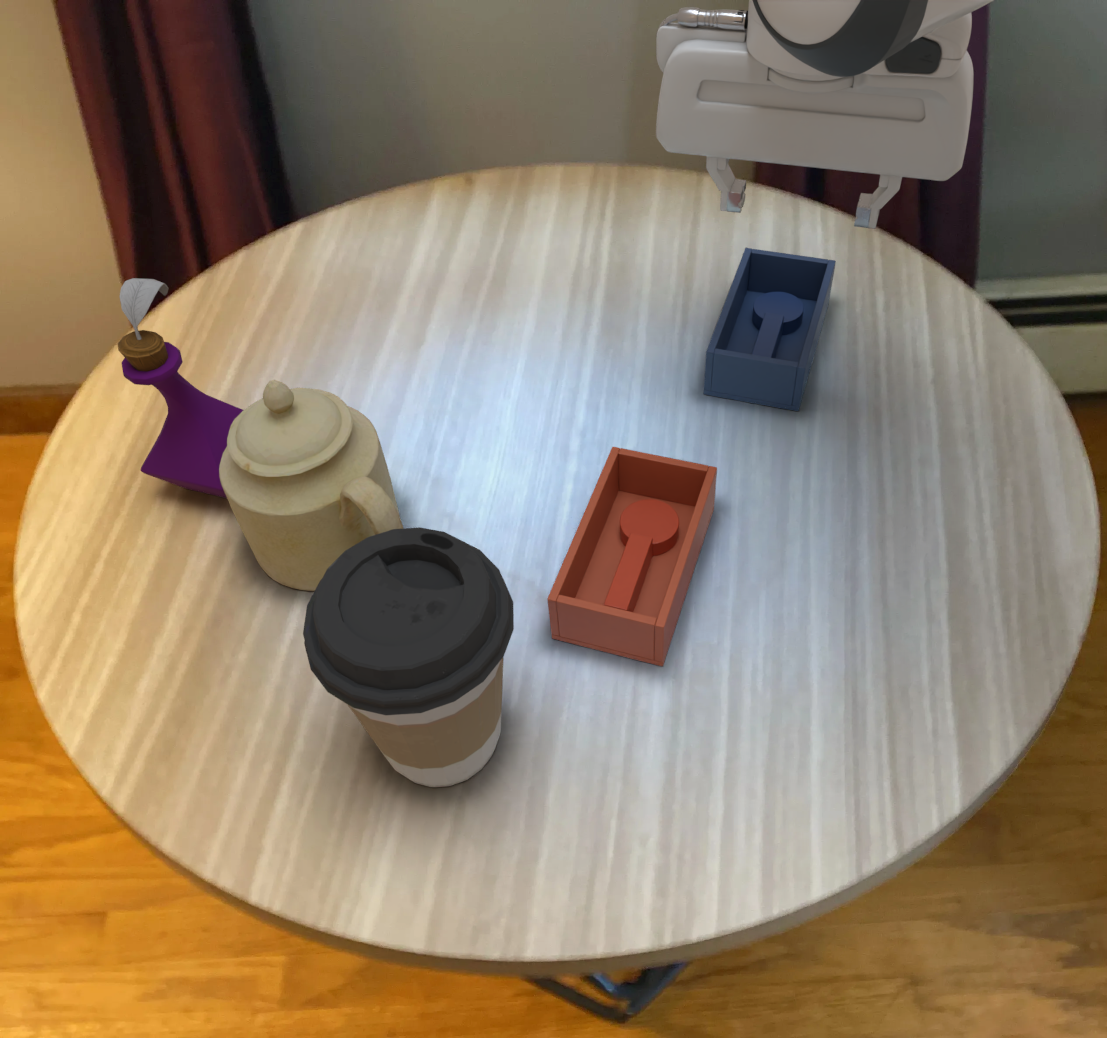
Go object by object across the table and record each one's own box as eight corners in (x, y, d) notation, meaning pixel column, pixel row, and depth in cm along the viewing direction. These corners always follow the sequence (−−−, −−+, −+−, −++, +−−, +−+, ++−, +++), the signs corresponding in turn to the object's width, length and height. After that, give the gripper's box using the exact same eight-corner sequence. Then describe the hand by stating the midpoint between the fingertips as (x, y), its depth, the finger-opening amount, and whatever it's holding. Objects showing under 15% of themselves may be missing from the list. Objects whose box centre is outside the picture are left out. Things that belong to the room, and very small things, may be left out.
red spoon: (646, 634, 68) (646, 614, 67) (585, 619, 69) (584, 600, 68) (685, 518, 75) (686, 497, 73) (629, 506, 76) (628, 486, 74)
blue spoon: (782, 388, 83) (785, 367, 81) (731, 379, 84) (733, 358, 82) (805, 308, 89) (808, 287, 88) (757, 301, 90) (759, 280, 89)
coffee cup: (562, 693, 66) (546, 546, 55) (481, 850, 60) (443, 720, 49) (410, 637, 70) (365, 488, 59) (317, 779, 63) (247, 643, 52)
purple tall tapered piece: (238, 519, 78) (152, 332, 64) (154, 499, 80) (54, 314, 66) (285, 451, 83) (214, 262, 69) (205, 433, 85) (121, 247, 71)
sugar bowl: (471, 504, 78) (442, 349, 66) (413, 620, 71) (369, 471, 60) (296, 467, 81) (240, 314, 70) (225, 574, 75) (150, 425, 63)
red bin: (714, 509, 76) (717, 466, 72) (662, 667, 67) (664, 627, 64) (613, 488, 78) (612, 445, 74) (551, 638, 69) (546, 598, 66)
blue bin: (828, 303, 90) (836, 260, 87) (798, 411, 82) (805, 368, 78) (741, 290, 92) (745, 247, 89) (703, 394, 84) (705, 351, 80)
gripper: (642, 26, 64) (644, 222, 74) (991, 51, 58) (941, 259, 69) (668, -16, 68) (667, 176, 78) (998, 4, 62) (950, 207, 73)
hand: (797, 215), depth 73 cm, fingers open, 8 cm apart
